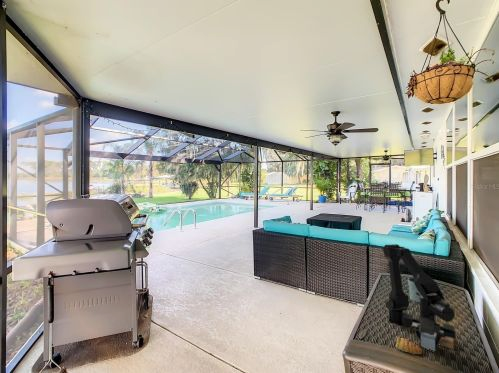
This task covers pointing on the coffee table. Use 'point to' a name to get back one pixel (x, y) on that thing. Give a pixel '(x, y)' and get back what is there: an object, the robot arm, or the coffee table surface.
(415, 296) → the drinking glass
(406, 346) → the pastry
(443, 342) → the walnut block
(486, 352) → the coffee table surface
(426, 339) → the cube
